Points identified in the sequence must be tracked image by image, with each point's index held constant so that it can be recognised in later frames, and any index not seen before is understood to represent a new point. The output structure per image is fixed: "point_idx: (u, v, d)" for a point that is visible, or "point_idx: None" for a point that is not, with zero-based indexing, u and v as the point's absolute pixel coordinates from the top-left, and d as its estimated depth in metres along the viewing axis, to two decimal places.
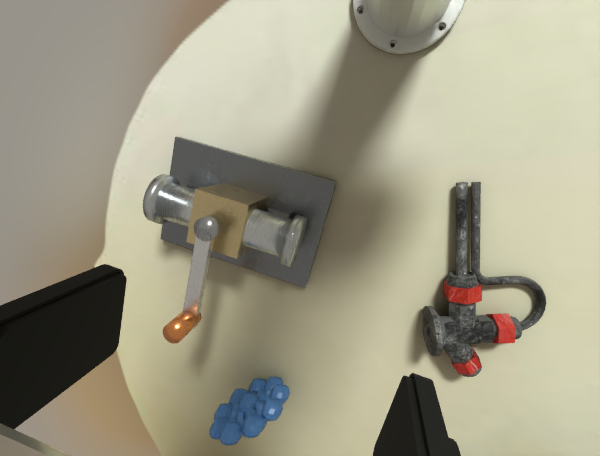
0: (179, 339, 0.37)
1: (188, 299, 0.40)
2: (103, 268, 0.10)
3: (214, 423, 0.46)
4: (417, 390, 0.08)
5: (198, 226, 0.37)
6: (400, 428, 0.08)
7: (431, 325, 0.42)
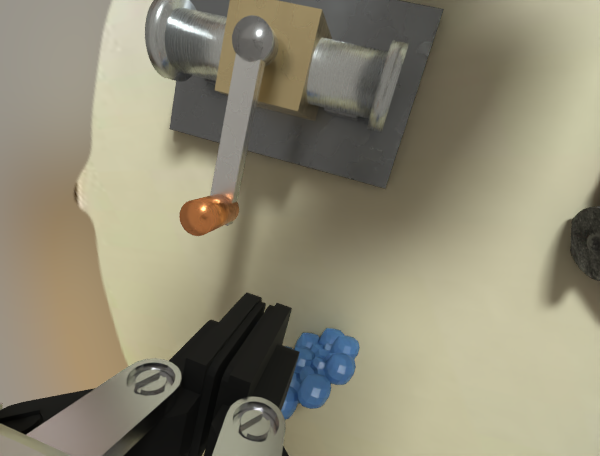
0: (208, 227, 0.22)
1: (220, 174, 0.24)
2: (249, 297, 0.11)
3: None
4: (271, 312, 0.10)
5: (240, 34, 0.22)
6: None
7: None
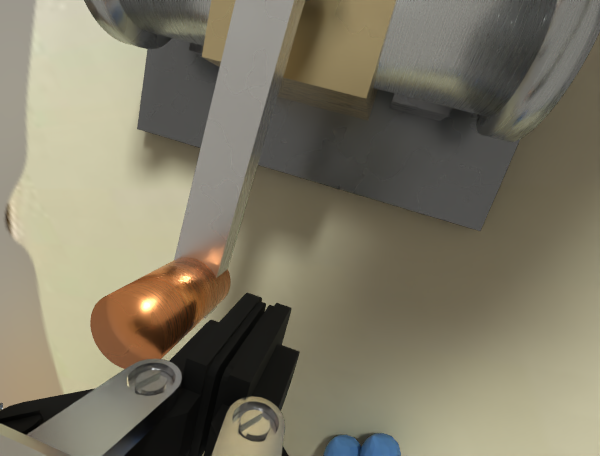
0: (154, 357, 0.09)
1: (196, 219, 0.12)
2: (249, 297, 0.11)
3: None
4: (270, 311, 0.10)
5: None
6: None
7: None
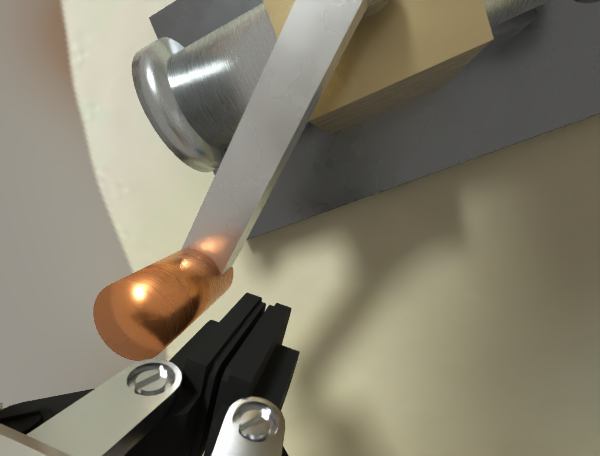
0: (154, 350, 0.09)
1: (211, 214, 0.12)
2: (249, 297, 0.11)
3: None
4: (270, 312, 0.10)
5: None
6: None
7: None
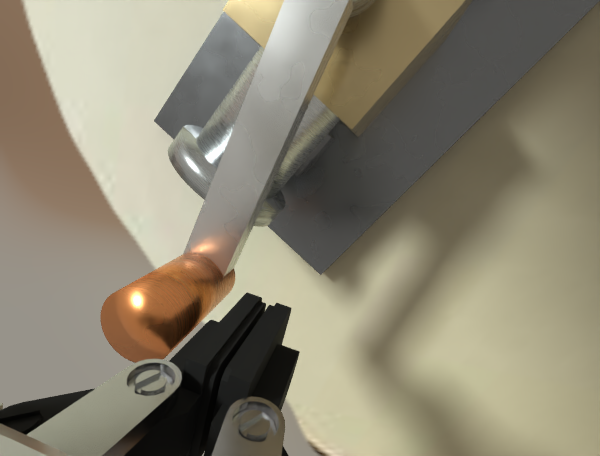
0: (161, 353, 0.10)
1: (210, 218, 0.12)
2: (249, 297, 0.11)
3: None
4: (270, 311, 0.10)
5: None
6: None
7: None
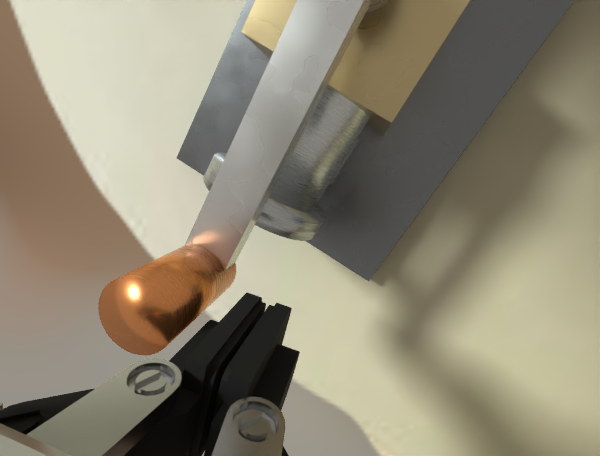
0: (159, 344, 0.09)
1: (214, 209, 0.12)
2: (249, 297, 0.11)
3: None
4: (270, 312, 0.10)
5: None
6: None
7: None
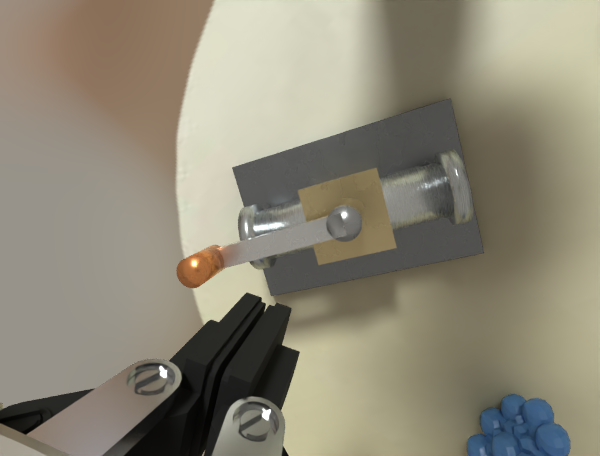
0: (190, 285, 0.25)
1: (236, 248, 0.28)
2: (249, 297, 0.11)
3: None
4: (270, 311, 0.10)
5: (342, 214, 0.25)
6: None
7: None
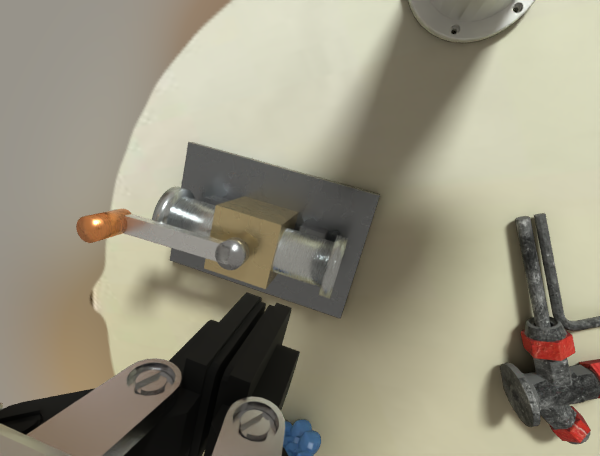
0: (83, 238, 0.29)
1: (141, 225, 0.32)
2: (249, 297, 0.11)
3: None
4: (270, 312, 0.10)
5: (231, 248, 0.30)
6: None
7: (518, 389, 0.35)
